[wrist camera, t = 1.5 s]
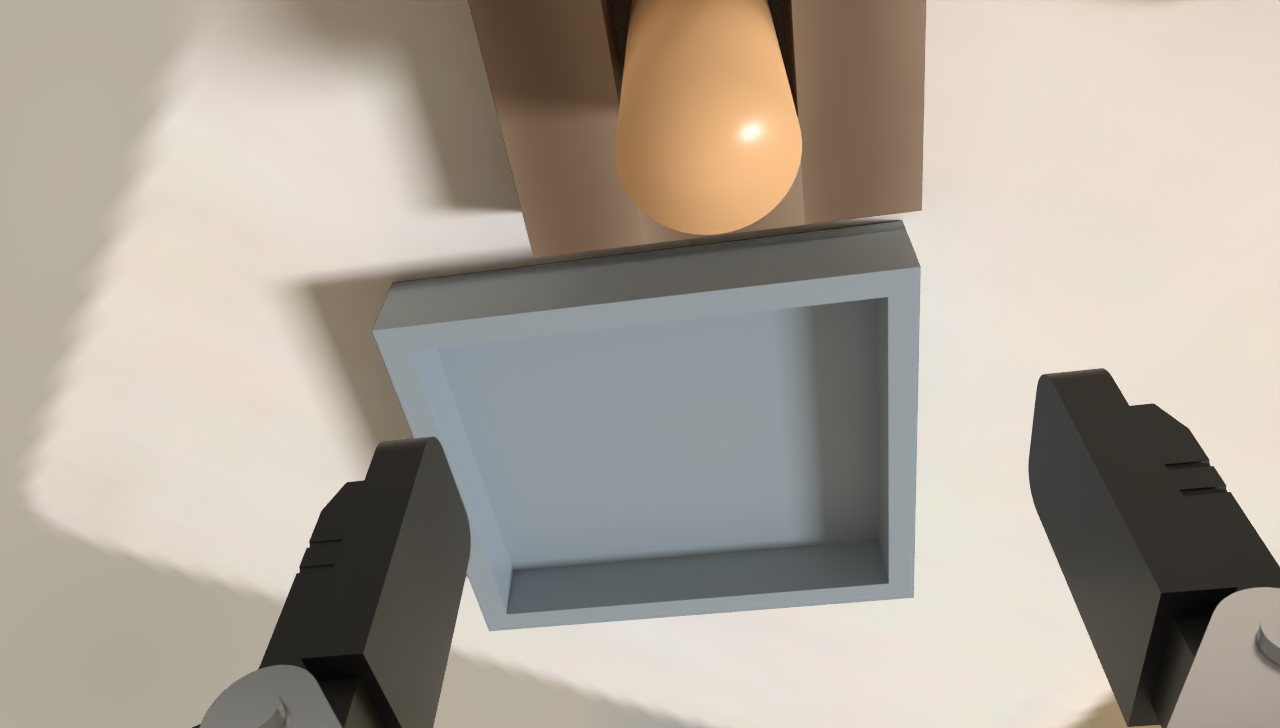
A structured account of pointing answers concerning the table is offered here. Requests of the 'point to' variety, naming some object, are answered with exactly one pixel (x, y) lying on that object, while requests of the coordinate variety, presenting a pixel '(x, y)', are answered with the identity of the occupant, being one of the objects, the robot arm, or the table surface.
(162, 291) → the table surface
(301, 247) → the table surface
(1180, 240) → the table surface
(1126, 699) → the robot arm
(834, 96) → the wooden square hole block
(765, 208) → the orange plug
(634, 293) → the slate tray
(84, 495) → the table surface
